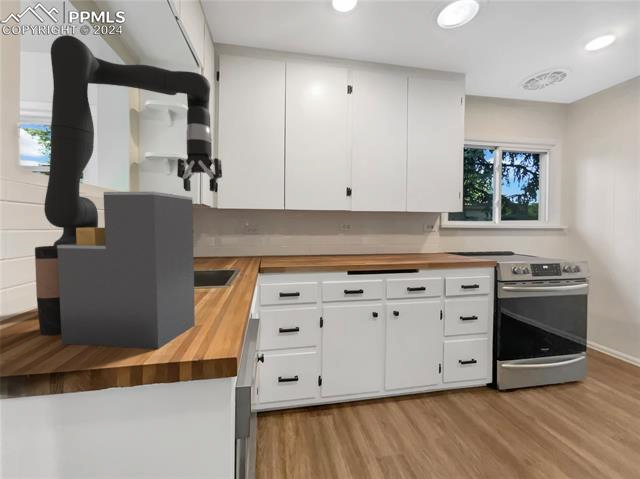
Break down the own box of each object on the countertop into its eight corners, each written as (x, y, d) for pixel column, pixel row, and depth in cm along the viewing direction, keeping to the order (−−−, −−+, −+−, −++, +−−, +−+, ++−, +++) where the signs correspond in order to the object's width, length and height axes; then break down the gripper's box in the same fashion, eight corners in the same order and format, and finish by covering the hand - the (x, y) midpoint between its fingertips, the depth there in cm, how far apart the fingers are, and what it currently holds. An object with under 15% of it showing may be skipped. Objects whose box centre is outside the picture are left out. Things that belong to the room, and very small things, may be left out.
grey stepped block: (61, 343, 62) (54, 192, 60) (114, 321, 76) (110, 197, 74) (158, 349, 60) (154, 191, 58) (194, 325, 74) (192, 197, 72)
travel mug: (45, 338, 65) (40, 248, 64) (33, 331, 69) (29, 246, 68) (86, 328, 71) (83, 246, 70) (74, 322, 75) (70, 244, 74)
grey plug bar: (76, 244, 62) (76, 227, 62) (148, 239, 84) (148, 226, 84) (94, 245, 61) (94, 228, 61) (162, 239, 83) (162, 226, 83)
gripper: (171, 138, 93) (172, 190, 94) (214, 137, 91) (215, 189, 92) (185, 144, 100) (186, 192, 101) (225, 143, 99) (225, 192, 100)
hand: (200, 191), depth 97 cm, fingers open, 8 cm apart
